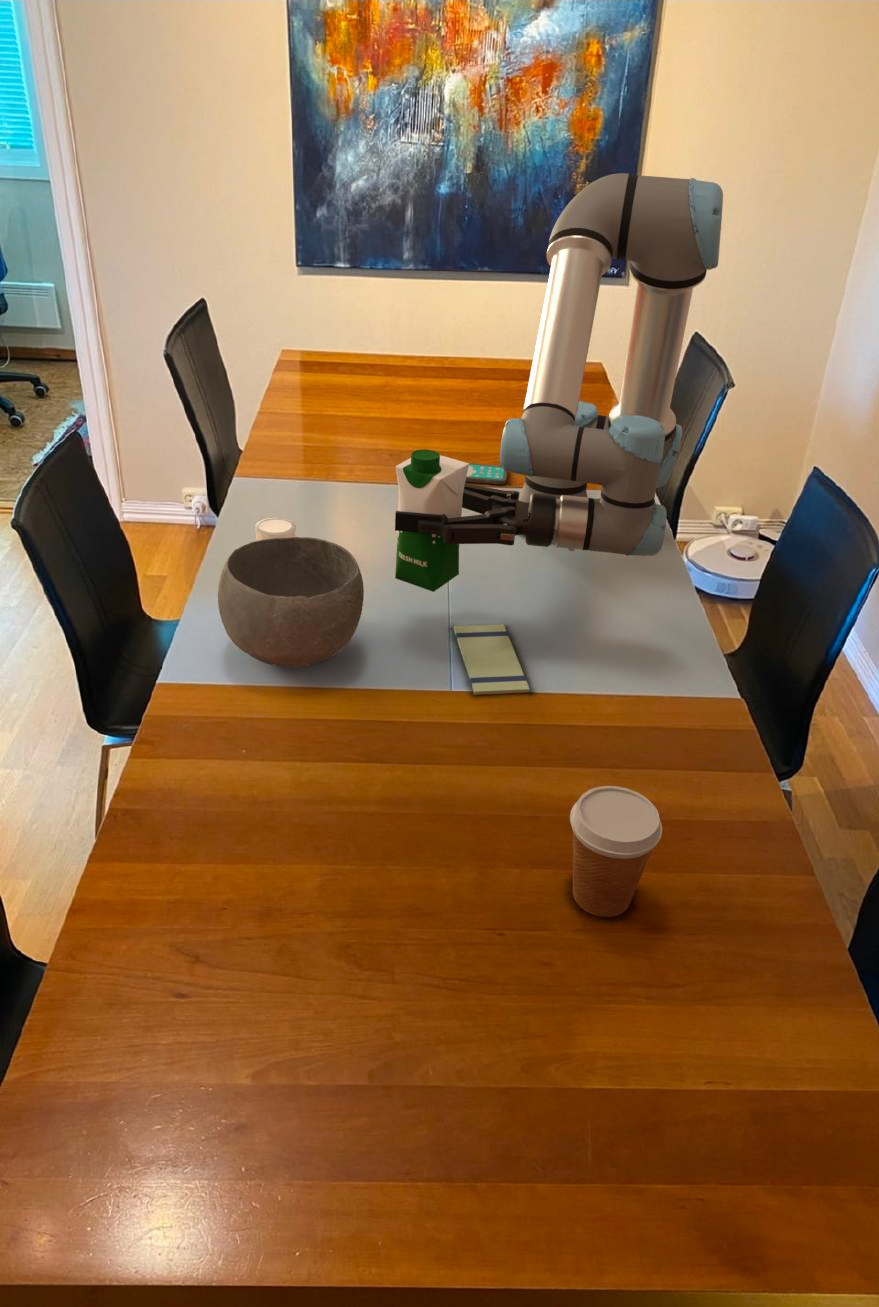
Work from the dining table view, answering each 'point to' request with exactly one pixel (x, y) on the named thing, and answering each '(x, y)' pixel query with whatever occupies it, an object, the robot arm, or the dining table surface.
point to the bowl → (290, 599)
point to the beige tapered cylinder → (274, 528)
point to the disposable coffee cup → (611, 847)
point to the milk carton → (429, 491)
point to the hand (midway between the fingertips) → (400, 506)
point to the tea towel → (490, 660)
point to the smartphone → (486, 474)
